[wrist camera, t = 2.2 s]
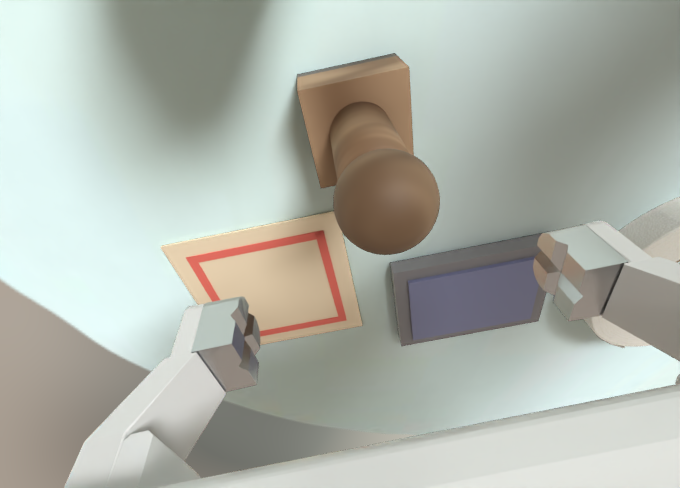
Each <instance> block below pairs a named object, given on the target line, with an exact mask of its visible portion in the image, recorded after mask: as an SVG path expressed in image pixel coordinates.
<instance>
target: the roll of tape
mask: <svg viewBox="0 0 680 488" xmlns="http://www.w3.org/2000/svg"><path fill="white" fill-rule="evenodd" d="M618 232H620V233H621V234H622V235H624V236H625V237H626V238H627V239H629V240H630V241H631V242H633V243H634V244H635V245H636V246H638V247H639V248H640V249H641V250H643V251H644V252H645V253H647V254H648V255H649V256H650V257H652V258H654V257H661V258H664V259H667V260H671V261H674V262H677V263H678V262H679V261H680V197H678V198H675V199H673V200H670V201H668V202H666V203H664V204H662V205H660V206H658V207H656V208H654V209H652V210H650V211H648V212H647V213H645V214H643V215H641V216H640V217H638V218H637V219H635V220H633V221H632V222H630V223H629V224H628V225H626V226H625V227H623V228H622V229H621V230H619V231H618ZM584 321H585V322H586V323H587V324H588V325H589V327H590V328H591V329H592V330H593V332H594V333H595V334H596V335H597V336H598V337H599V338H600V339H602V340H604V341H606V342H608V343H609V344H612V345H615V346H618V347H621V348H625V346H648V345H650V344H648V343H646V342H645V341H643V340H641V339H639V338H638V337H636V336H634V335H632V334H630V333H629V332H627V331H625V330H623V329H622V328H620V327H618V326H616V325H615V324H613V323H611V322H609V321H607V320H606V319H604V318H602V316H596V317H591V318H585V319H584Z"/></svg>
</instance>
